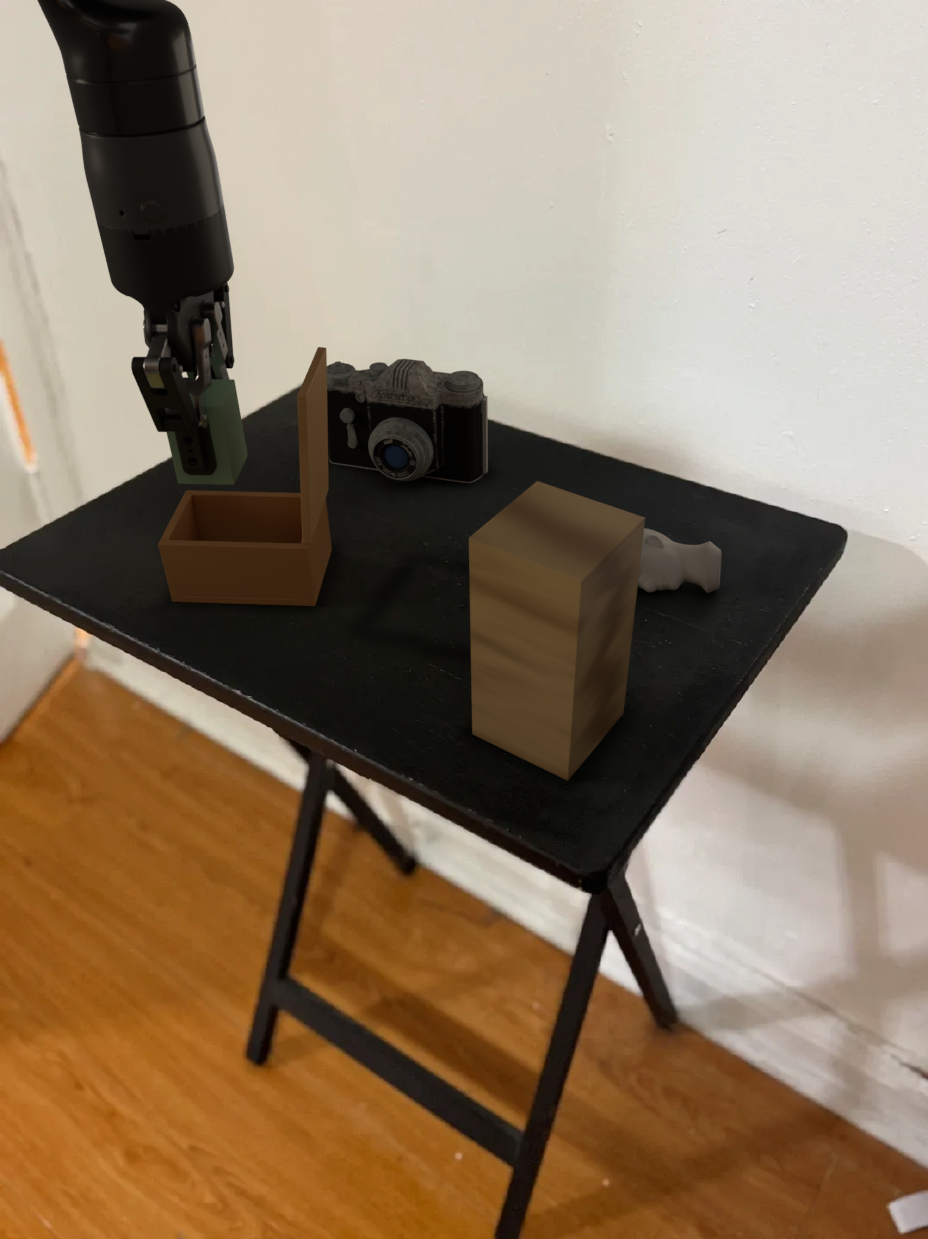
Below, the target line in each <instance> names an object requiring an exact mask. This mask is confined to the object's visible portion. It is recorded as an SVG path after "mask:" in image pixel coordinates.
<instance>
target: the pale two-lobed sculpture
mask: <svg viewBox="0 0 928 1239" xmlns="http://www.w3.org/2000/svg"><path fill="white" fill-rule="evenodd" d="M722 559H723V558H722V549H721V548H719V547H718V546H717V545H715V544H714V543H713V542H712V541H710V540H708V541H706V542H704V543H701V544H686V543H685V544H684V543H680V542H675V541H673V540H672V539H671V538H669V537H668V536H666V535H664V534H663V533H661V532H658V531H656V530H654V529H652V528H651V529H650V528H645V527H644V533H643V542H642V551H641V560H640V569H639V578H638V587H637V589H639V588H641V589H642V590H644V591H645V592H647V593H654V592H655V591H664V590H671V591H676V590H677V589H679V588H680V587H681V585H682V584H683V583H689V584H693V585H696V586H699V587H700V588H702V589H703V590H704V591H705V593H706V594H709V593H711V592H714V591H717V590H718V589H719V588H720V585H721V584H720V583H721V575H722V574H721V572H722Z"/></svg>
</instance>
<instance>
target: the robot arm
mask: <svg viewBox="0 0 928 1239" xmlns="http://www.w3.org/2000/svg"><path fill="white" fill-rule="evenodd" d="M37 3H38V5H39V7H40V9H41V11H42V14H43V16H44V18H45V20H46V21H47V23H48V26H49V29H50V30H51V32H52V35H53V37H54V40H55V41H56V44H57V46H58V49H59V52H60V55H61V58H62V63H63V68H64V73H65V77H66V81H67V86H68V89H69V94H70V97H71V101H72V106H73V112H74V115H75V118H76V123H77V125H78V131H79V137H80V146H81V155H82V163H83V170H84V175H85V180H86V184H87V188H88V192H89V196H90V201H91V204H92V208H93V212H94V217H95V222H96V225H97V229H98V234H99V237H100V241H101V246H102V250H103V254H104V257H105V262H106V266H107V271H108V275H109V278H110V279H109V280H110V282H111V284H112V286H113V288H114V289H115V290H116V291H117V292H118V293H120V294H122V295H123V296H125V297H128V298H131V299H133V300H135V301H136V302H138V303H139V304H140V305H141V306H142V308H143V321H142V331H143V339H144V343H145V345H146V347H148V350H147V355H146V356H133V357H132V358H131V362H130V370H131V373H132V376H133V378H134V380H135V383H136V385H137V388H138V390H139V392H140V394H141V397H142V399H143V402H144V403H145V406H146V408H147V411H148V413H149V415H150V417H151V420H152V422H153V424H154V427H155V429H156V431H157V432H158V433H166V432H175V436H176V441H177V445H178V449H179V454H180V458H181V463H182V467H183V470H184V472H185V473H186V474H189V475H212V474H213V473H214V472H215V470H216V468H217V462H216V457H215V452H214V447H213V442H212V437H211V432H210V427H209V422H208V414H207V404H206V395H205V392H206V390H208V389H209V388H210V387H211V385H212V380H211V379H230V376H229V373H228V372H229V371H228V370H227V369H231V370H232V369H233V368H234V365H235V356H234V345H233V343H234V342H233V331H232V318H231V316H232V315H231V305H230V303H231V302H230V286H229V283H228V282H229V281H230V280H231V278H232V277H233V275H234V272H235V263H234V258H233V251H232V245H231V239H230V233H229V227H228V221H227V214H226V208H225V203H224V196H223V189H222V184H221V178H220V172H219V165H218V161H217V156H216V152H215V148H214V145H213V142H212V139H211V135H210V132H209V127H208V123H207V118H206V116H205V108H204V103H203V102H204V101H203V96H202V91H201V84H200V78H199V73H198V67H197V59H196V52H195V48H194V47H195V46H194V43H193V37H192V33H191V28H190V25H189V22H188V19H187V17H186V15H185V13H184V12H183V11H182V9H181V8H180V7H179V6H178V5H176V4H175V3H173V2H172V1H170V0H37ZM183 373H186V376H187V377H185V376H183ZM189 393H191V394H192V396H193V403H192V400H191V397H190V395H189ZM193 404H194V405H193Z"/></svg>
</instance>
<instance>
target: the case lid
mask: <svg viewBox="0 0 928 1239" xmlns="http://www.w3.org/2000/svg"><path fill="white" fill-rule="evenodd" d="M327 357H328V355H327V347H324V346H318V347H317V348H316V351H315V353H314V355H313V358H312V360H311V363H310V365H309V368H308V370H307V372H306V374H305V377H304V379H303V380H302V384H301V386H300V388H299V391H298V392H297V395H296V396H297V397H296V398H297V399H296V400H297V426H298V427H297V428H298V453H299V454H298V456H299V482H300V483H299V485H300V493H301V515H302V542H303V543H305V544H311V541H312V538H313V535H314V532H315V529H316V526H317V523H318V520H319V517H320V514H321V511H322V508H323V505H324V502H325V499H326V500H327V495H328V492H329V458H328V420H327V366H328V364H327V360H328V358H327Z"/></svg>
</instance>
